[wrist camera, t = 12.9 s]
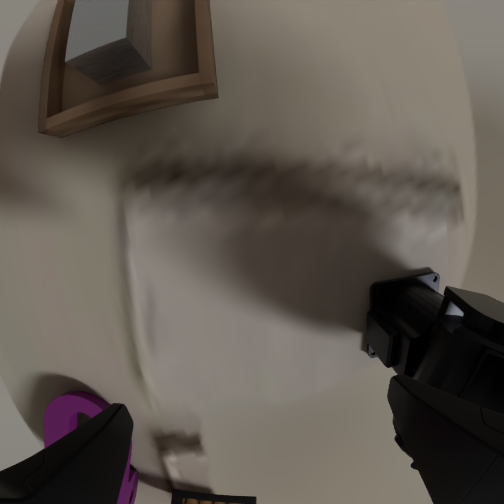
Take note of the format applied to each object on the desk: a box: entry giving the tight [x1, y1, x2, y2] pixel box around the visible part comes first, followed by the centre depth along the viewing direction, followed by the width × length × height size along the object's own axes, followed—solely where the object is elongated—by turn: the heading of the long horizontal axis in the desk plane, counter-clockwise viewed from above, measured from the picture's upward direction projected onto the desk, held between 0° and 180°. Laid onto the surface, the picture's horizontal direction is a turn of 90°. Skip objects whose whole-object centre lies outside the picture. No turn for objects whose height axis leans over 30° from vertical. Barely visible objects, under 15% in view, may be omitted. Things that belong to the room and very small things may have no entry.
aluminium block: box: [65, 0, 152, 85], centre depth 12 cm, size 8×4×5 cm, turn 7°
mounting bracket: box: [44, 391, 138, 504], centre depth 22 cm, size 9×8×18 cm
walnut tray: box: [38, 0, 218, 138], centre depth 14 cm, size 13×14×3 cm
